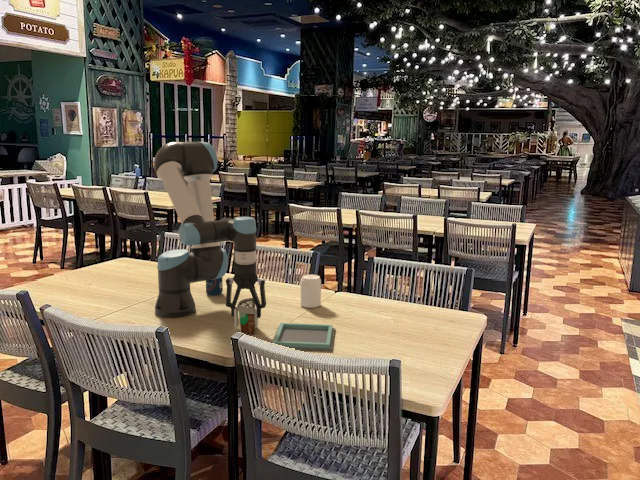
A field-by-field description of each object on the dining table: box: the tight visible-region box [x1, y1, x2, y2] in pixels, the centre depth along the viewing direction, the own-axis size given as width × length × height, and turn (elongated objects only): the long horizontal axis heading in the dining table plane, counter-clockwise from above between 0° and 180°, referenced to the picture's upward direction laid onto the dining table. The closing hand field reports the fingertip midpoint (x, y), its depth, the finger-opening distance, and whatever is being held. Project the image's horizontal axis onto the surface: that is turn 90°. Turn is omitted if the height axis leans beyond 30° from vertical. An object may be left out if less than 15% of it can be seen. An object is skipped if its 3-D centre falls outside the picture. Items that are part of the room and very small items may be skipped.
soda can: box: [205, 277, 224, 297], centre depth 240 cm, size 7×7×12 cm
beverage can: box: [300, 273, 322, 309], centre depth 226 cm, size 8×8×12 cm
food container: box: [236, 297, 256, 336], centre depth 199 cm, size 12×6×10 cm, turn 5°
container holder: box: [271, 322, 336, 352], centre depth 192 cm, size 20×20×2 cm
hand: (246, 326), depth 199 cm, fingers closed on food container, 6 cm apart
